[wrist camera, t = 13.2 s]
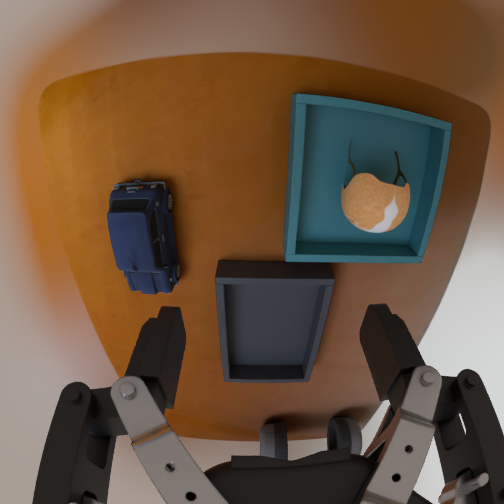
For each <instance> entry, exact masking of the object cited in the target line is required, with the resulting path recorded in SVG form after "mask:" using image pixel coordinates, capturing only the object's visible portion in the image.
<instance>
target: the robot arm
mask: <svg viewBox="0 0 504 504" xmlns="http://www.w3.org/2000/svg"><path fill="white" fill-rule="evenodd" d="M408 331H409V330H408V328H407V326H406V324H405V323H404V321H403V320H402V319H401V318H400V317H399V316H397V315H396V314H392V313H391V311H390V309H389V307H388V306H387V304H371V305H369V306H368V308H367V311H366V314H365V317H364V320H363V323H362V325H361V328H360V342H361V345H362V348H363V351H364V354H365V357H366V360H367V362H368V365H369V368H370V371H371V374H372V377H373V380H374V384H375V387H376V390H377V393H378V396H379V399H380V401H384V400H389V401H390V406H389V407H388V409H387V412H386V414H385V416H384V418H383V421H382V423H381V425H380V427H379V429H378V431H377V434H376V436H375V437H374V439H373V441H372V443H371V444H370V446H369V447H368V449H367V450H366V452H365V453H364V455H363V456H362V455H359V454H353V453H350V452H349V447H347V448H340V449H334V450H327V451H321V452H318V453H315V454H313V455H309V456H306V457H303V458H301V459H298V460H293V461H289V460H283V459H277V458H271V457H266V456H231V461H229V462H225V463H222V464H218V465H216V466H214V467H212V468H210V469H208V470H206V471H205V472H204V473H203V471H202V470H201V469H200V468H199V466H198V465H197V464H196V462H195V461H194V459H193V458H192V457H191V455H190V454H189V453H188V452H187V450H186V448H185V447H184V445H183V444H182V443H181V441H180V440H179V438H178V437H177V435H176V434H175V432H174V431H173V429H172V428H171V426H170V425H169V423H168V422H167V420H166V419H165V417H164V412H165V408H169V409H173V408H174V402H175V397H176V391H177V386H178V381H179V375H180V370H181V365H182V360H183V355H184V350H185V345H186V332H185V328H184V323H183V319H182V314H181V309H180V307H168V306H162V307H161V309H160V311H159V314H158V317H157V318H149V320H148V321H147V322H146V323H145V324H144V325H143V326H142V328H141V331H140V334H139V338H138V339H137V342H136V346H135V348H134V350H133V353H132V356H131V359H130V362H129V365H128V368H127V371H126V373H125V376H124V377H122V378H120V379H118V380H117V381H116V382H115V383H114V384H113V386H112V387H107V388H100V389H91V390H90V388H89V387H88V386H87V385H86V384H84V383H82V382H73V383H70V384H68V385H67V386H66V387H65V388H64V389H63V390H62V392H61V395H60V398H59V401H58V404H57V407H56V410H55V413H54V416H53V419H52V422H51V425H50V429H49V432H48V435H47V439H46V443H45V446H44V450H43V454H42V458H41V462H40V467H39V471H38V476H37V481H36V486H35V491H34V497H33V503H32V504H107V497H108V488H109V481H110V473H111V467H112V460H113V454H114V448H115V442H116V437H117V436H118V435H127V434H129V436H130V438H131V440H132V443H131V445H132V447H133V449H134V451H135V453H136V455H137V457H138V458H139V460H140V462H141V464H142V465H143V467H144V469H145V471H146V473H147V474H148V476H149V477H150V479H151V481H152V482H153V484H154V485H155V487H156V488H157V490H158V492H159V493H160V495H161V496H162V497H163V499H164V500H165V502H166V504H432V503H431V502H429V501H428V500H426V499H425V498H423V497H422V496H421V495H419V494H418V493H416V492H415V491H414V490H413V488H414V486H415V484H416V482H417V479H418V477H419V474H420V472H421V469H422V467H423V464H424V462H425V459H426V456H427V453H428V450H429V448H430V445H431V441H432V438H433V435H434V438H435V442H436V446H437V450H438V454H439V458H440V462H441V467H442V471H443V476H444V481H445V487H444V488H443V490H442V493H441V495H440V496H439V499H438V500H439V503H440V504H504V435H503V432H502V429H501V426H500V423H499V421H498V418H497V415H496V413H495V410H494V408H493V405H492V403H491V400H490V398H489V395H488V393H487V391H486V389H485V386H484V384H483V382H482V380H481V378H480V376H479V375H478V374H477V373H476V372H475V371H473V370H470V369H465V370H462V371H461V372H460V373H459V374H458V376H457V377H449V376H440V374H439V372H437V370H436V369H434V368H433V367H431V366H427V365H426V364H425V362H424V360H423V358H422V356H421V354H420V352H419V350H418V348H417V346H416V344H415V342H414V340H413V339H412V336H411V334H410V332H408ZM460 413H461V416H462V419H463V422H464V425H465V428H466V435H465V432H464V429H463V426H462V423H461V420H460V417H459V414H460Z"/></svg>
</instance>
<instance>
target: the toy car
mask: <svg viewBox="0 0 504 504" xmlns="http://www.w3.org/2000/svg"><path fill="white" fill-rule="evenodd" d="M135 181H136V183H125V184H124V183H118V184H115V185H114V186H113V191H112V192H111V195H110V202H109V205H110V207H109V212H108V213H107V218H108V228H109V234H110V239H111V244H112V248H113V252H114V256H115V260H116V265H117V267H118V268H119V270H123V271H124V275H125V278H126V279H127V281H128V284H129V287H130V290H131V291H133V292H135V291H137V290H138V291H141V292H142V293H143V294H157V292H164V293H166V294H169V293H171V292H172V290H173V288H174V285H178V281H179V279H180V277H179V276H180V265H179V263H177V261H178V259H177V251H176V243H175V234H174V226H173V216H172V210H171V208H172V195H171V193H170V192H168V191H169V188H167V187H166V184H165V182H162V181H155V182H142V183H141V181H140V179H135ZM151 184H153V185H151ZM159 184H163V186H161V185H159ZM131 185H133V186H131ZM116 186H117V187H116Z"/></svg>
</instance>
